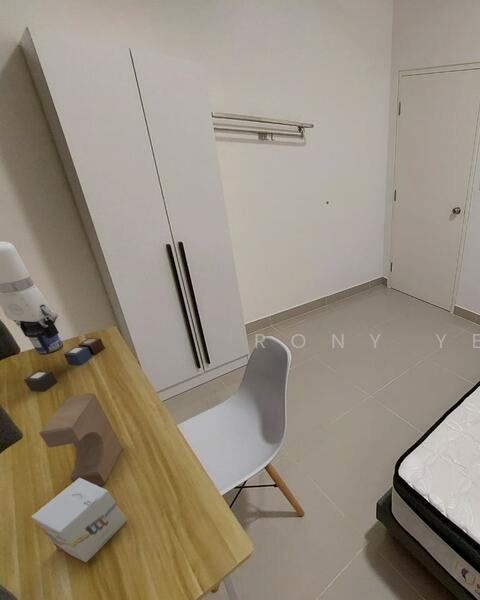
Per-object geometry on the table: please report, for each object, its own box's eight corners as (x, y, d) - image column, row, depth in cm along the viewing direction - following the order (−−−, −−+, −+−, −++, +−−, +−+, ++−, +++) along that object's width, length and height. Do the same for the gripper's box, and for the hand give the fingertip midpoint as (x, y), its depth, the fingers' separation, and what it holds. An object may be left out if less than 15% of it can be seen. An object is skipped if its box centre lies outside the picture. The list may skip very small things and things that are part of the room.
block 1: (44, 391, 103) (37, 380, 101) (30, 390, 103) (23, 379, 101) (58, 381, 107) (51, 371, 105) (44, 380, 107) (38, 370, 105)
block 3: (94, 355, 120) (89, 345, 117) (82, 354, 120) (77, 344, 117) (105, 348, 124) (100, 338, 121) (93, 347, 124) (88, 337, 121)
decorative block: (104, 485, 78) (69, 428, 69) (75, 491, 77) (35, 433, 67) (124, 447, 88) (96, 391, 78) (99, 451, 86) (66, 395, 77)
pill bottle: (64, 342, 110) (49, 314, 105) (63, 351, 106) (48, 322, 101) (38, 348, 107) (22, 319, 101) (36, 358, 103) (19, 328, 97)
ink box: (55, 548, 67) (27, 516, 61) (100, 508, 74) (79, 475, 68) (85, 564, 65) (59, 532, 59) (128, 521, 72) (109, 488, 66)
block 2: (81, 365, 115) (75, 354, 113) (68, 364, 115) (63, 353, 113) (92, 357, 119) (87, 346, 117) (80, 356, 119) (75, 346, 117)
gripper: (-31, 287, 92) (3, 340, 100) (29, 291, 92) (58, 343, 100) (-1, 277, 99) (28, 327, 107) (55, 280, 98) (80, 330, 107)
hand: (42, 334), depth 104 cm, fingers closed on pill bottle, 6 cm apart
